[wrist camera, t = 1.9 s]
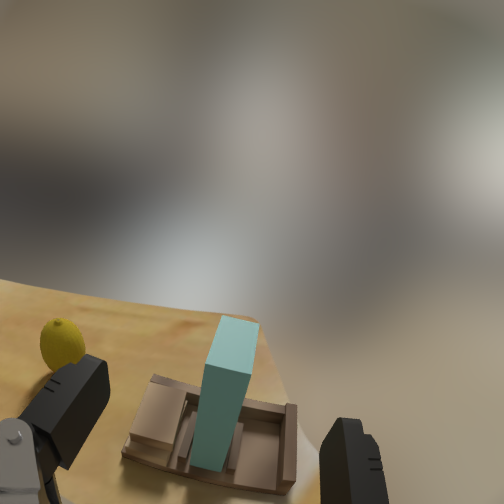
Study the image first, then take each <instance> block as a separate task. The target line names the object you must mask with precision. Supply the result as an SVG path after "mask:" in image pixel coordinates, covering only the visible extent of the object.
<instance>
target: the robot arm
mask: <svg viewBox="0 0 504 504" xmlns="http://www.w3.org/2000/svg"><path fill="white" fill-rule="evenodd" d="M109 397H110V383H109V375H108V366H107V362H106V361H104V360H101V359H99V358H96V357H94V356H91V355H89V354H85V355H84V356H83V357H82V358H81V359H80V361H79V362H78V363H77V364H73V363H71V362H70V363H68V364H67V365H65V366H63V367H61V368H59V369H58V370H57V371H56V372H55V374H54V375H53V376H52V377H51V379H50V380H49V381H48V382H47V383H46V384H45V386H44V388H42V389H41V390H40V392H39V393H38V394H37V395H36V396H35V398H34V399H33V400H32V401H31V403H30V404H29V405H28V406H27V408H26V409H25V410H24V411H23V413H22V414H21V415H20V416H19V417H18V418H7V419H4V420H2V421H1V422H0V504H62V502H61V498H60V494H59V490H58V486H57V482H56V477H55V473H54V472H55V470H56V469H57V467H58V465H59V466H60V467H62V468H64V469H66V470H69V468H70V466H71V465H72V463H73V461H74V459H75V458H76V456H77V454H78V453H79V451H80V449H81V447H82V446H83V444H84V442H85V441H86V439H87V437H88V435H89V434H90V432H91V430H92V429H93V427H94V425H95V424H96V422H97V420H98V419H99V417H100V415H101V414H102V412H103V410H104V409H105V407H106V405H107V403H108V401H109ZM319 464H320V495H321V504H389V499H388V494H387V488H386V482H385V477H384V472H383V471H382V469H383V466H382V462H381V456H380V452H379V447H378V445H377V443H376V442H375V440H374V439H373V437H372V436H371V435H370V434H364V432H363V426H362V422H361V420H360V419H350V418H341V417H340V418H337V420H336V421H335V423H334V424H333V426H332V428H331V430H330V431H329V433H328V434H327V436H326V437H325V439H324V440H323V442H322V445H321V448H320V453H319Z"/></svg>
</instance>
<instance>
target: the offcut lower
mask: <svg viewBox="0 0 504 504" xmlns="http://www.w3.org/2000/svg"><path fill="white" fill-rule="evenodd" d="M186 409H187V401H185V405H184V409H183V413H182V416H181V420H180V424H179V428H178V432H179V429H180V426H181V423H182V421H183V418H184V415H185V412H186ZM178 432H177V435H178ZM176 437H177V436H176ZM125 451H126V453H127V454H129V455H132V456H135V457H138V458H140V459H143V460H146V461H149V462H152V463H155V464H158V465H161V466H165V467H166V466H167V463H168V460H169V457H170V454H171V452H170V451H166V450H162V449H158V448H154V447H151V446H147V445H144V444H140V443H137V442H133V441H130V435H129V437H128V439H127V442H126V444H125Z"/></svg>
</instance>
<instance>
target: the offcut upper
mask: <svg viewBox="0 0 504 504" xmlns="http://www.w3.org/2000/svg"><path fill="white" fill-rule="evenodd" d="M186 394H187V391H185V390H181V389H177V388H172V387H168V386H164V385H161V384H157V383H153V382H149V384H148V386H147V389H146V391H145V394H144V396H143V399H142V401H141V404H140V406H139V409H138V411H137V414H136V416H135V419H134V421H133V424H132V426H131V429H130V432H129V434H130V441H133V442H137V443H140V444H144V445H147V446H151V447H154V448H158V449H162V450H166V451H170V452H172V451H173V447H174V444H175V440H176V436H177V432H178V428H179V424H180V420H181V416H182V413H183V409H184V405H185V401H186Z"/></svg>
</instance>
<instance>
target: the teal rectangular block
mask: <svg viewBox="0 0 504 504" xmlns="http://www.w3.org/2000/svg"><path fill="white" fill-rule="evenodd" d="M258 330H259V324H258V323H253V322H249V321H245V320H240V319H236V318H232V317H228V316H224V315H222V317H221V320H220V323H219V326H218V329H217V332H216V334H215V337H214V340H213V343H212V346H211V349H210V351H209V354H208V357H207V360H206V363H205V368H204V374H203V380H202V386H201V392H200V399H199V405H198V411H197V418H196V424H195V431H194V438H193V444H192V451H191V458H190V465H192V466H196V467H200V468H204V469H208V470H212V471H217V472H221V471H222V468H223V464H224V461H225V458H226V455H227V452H228V449H229V446H230V443H231V440H232V436H233V433H234V430H235V427H236V424H237V420H238V417H239V414H240V411H241V408H242V404H243V401H244V398H245V394H246V391H247V388H248V384H249V381H250V378H251V374H252V368H253V362H254V356H255V349H256V343H257V337H258Z"/></svg>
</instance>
